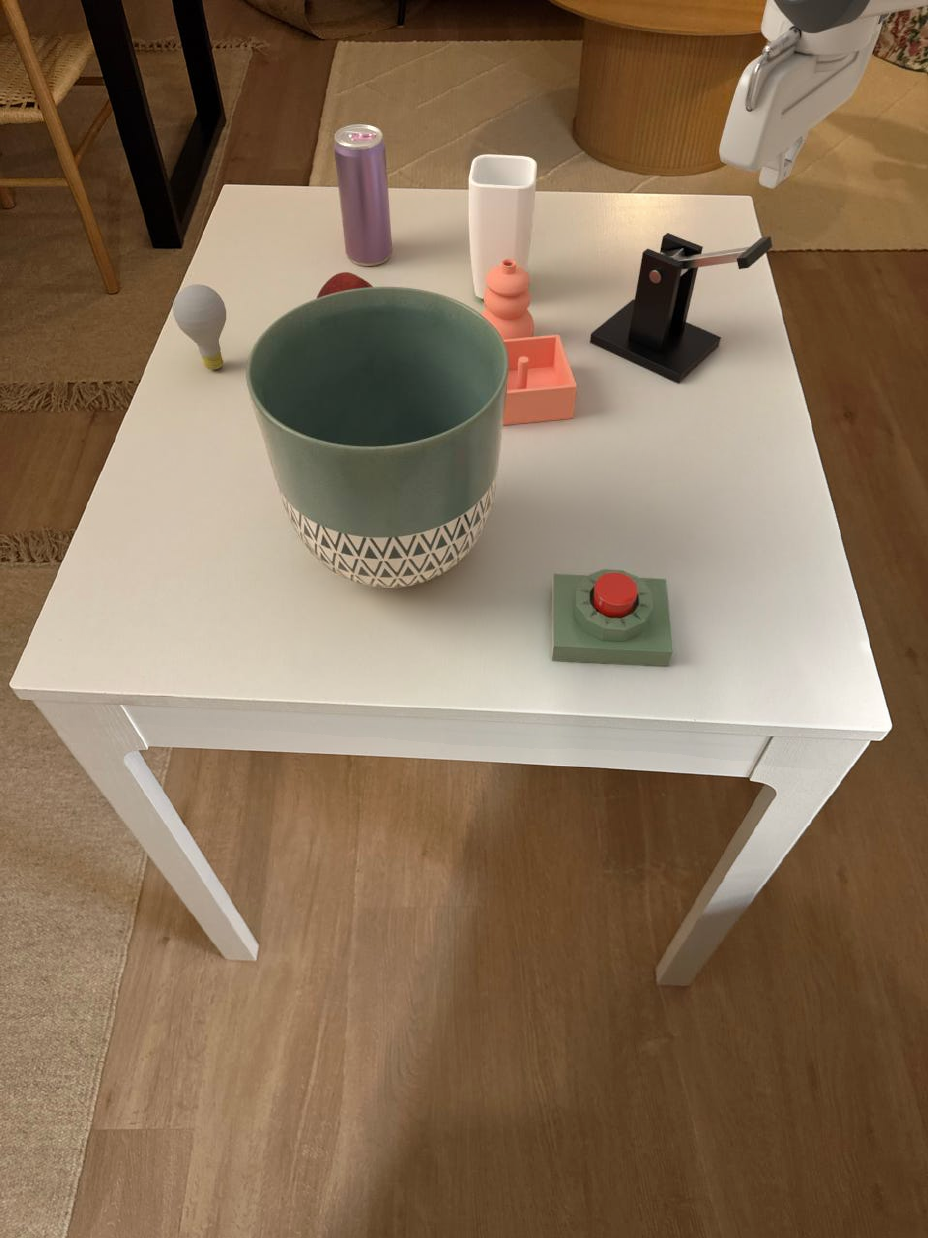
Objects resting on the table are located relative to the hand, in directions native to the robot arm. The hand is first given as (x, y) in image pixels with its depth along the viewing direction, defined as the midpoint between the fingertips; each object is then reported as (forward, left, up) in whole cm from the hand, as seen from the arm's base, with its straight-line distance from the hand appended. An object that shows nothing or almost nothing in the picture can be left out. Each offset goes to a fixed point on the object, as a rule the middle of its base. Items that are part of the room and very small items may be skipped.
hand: (773, 181), depth 83 cm
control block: (+29, +26, -22) cm, 45 cm away
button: (+29, +26, -18) cm, 43 cm away
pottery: (+21, -10, -22) cm, 32 cm away
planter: (+43, +10, -22) cm, 49 cm away
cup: (+16, -25, -22) cm, 37 cm away
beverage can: (+28, -39, -22) cm, 53 cm away
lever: (+2, -4, -11) cm, 12 cm away
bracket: (+4, -8, -22) cm, 24 cm away
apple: (+36, -23, -22) cm, 48 cm away
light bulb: (+52, -24, -22) cm, 61 cm away
